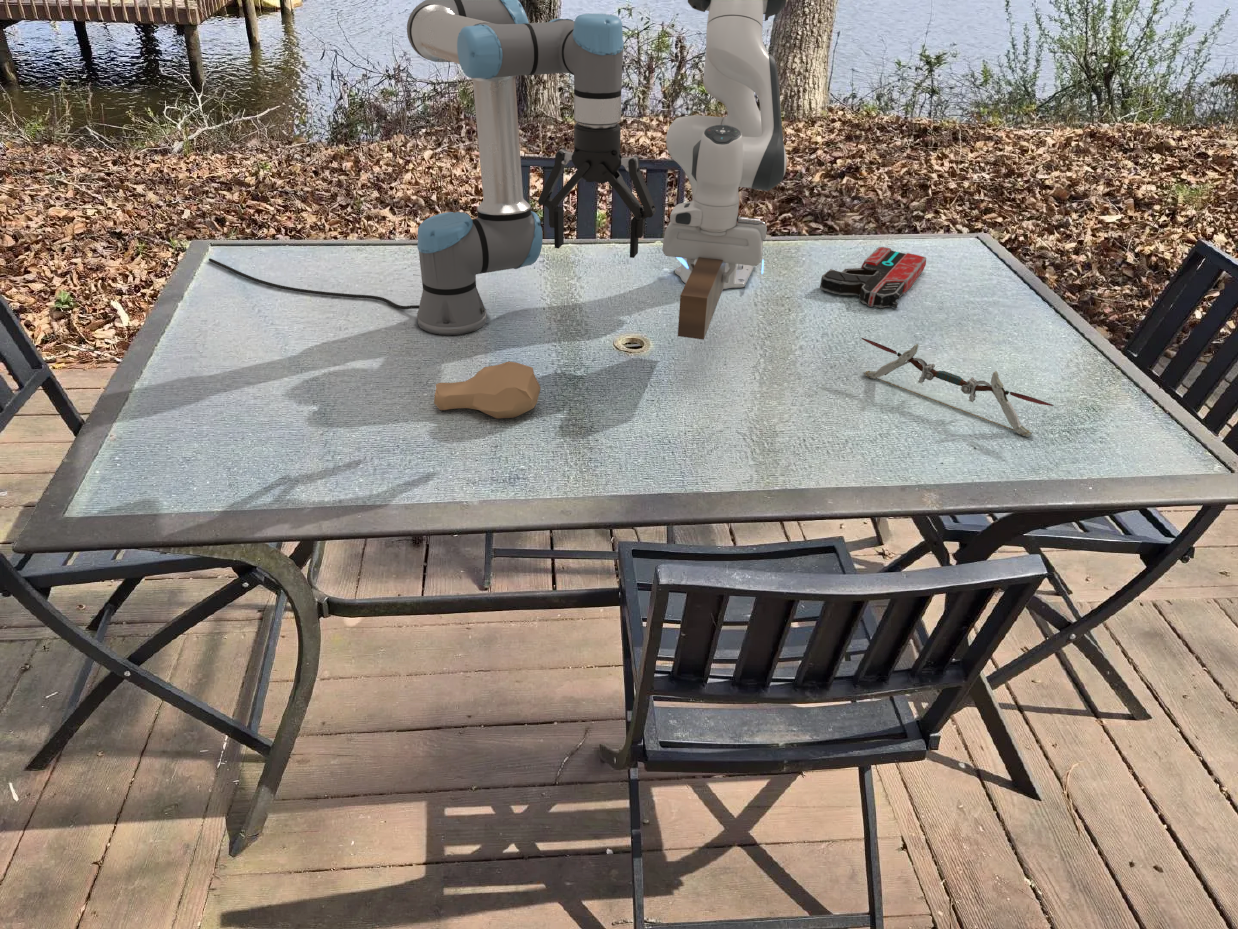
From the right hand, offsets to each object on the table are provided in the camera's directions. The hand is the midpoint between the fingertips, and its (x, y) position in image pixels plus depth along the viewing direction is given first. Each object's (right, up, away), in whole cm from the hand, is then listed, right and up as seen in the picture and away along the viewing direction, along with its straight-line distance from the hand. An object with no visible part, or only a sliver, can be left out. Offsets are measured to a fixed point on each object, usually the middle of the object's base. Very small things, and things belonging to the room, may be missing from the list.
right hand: (709, 280), depth 181 cm
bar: (-2, -7, -5) cm, 9 cm away
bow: (+44, -26, -10) cm, 53 cm away
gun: (+46, +8, +41) cm, 62 cm away
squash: (-43, -28, -16) cm, 54 cm away
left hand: (-23, -1, -29) cm, 36 cm away
